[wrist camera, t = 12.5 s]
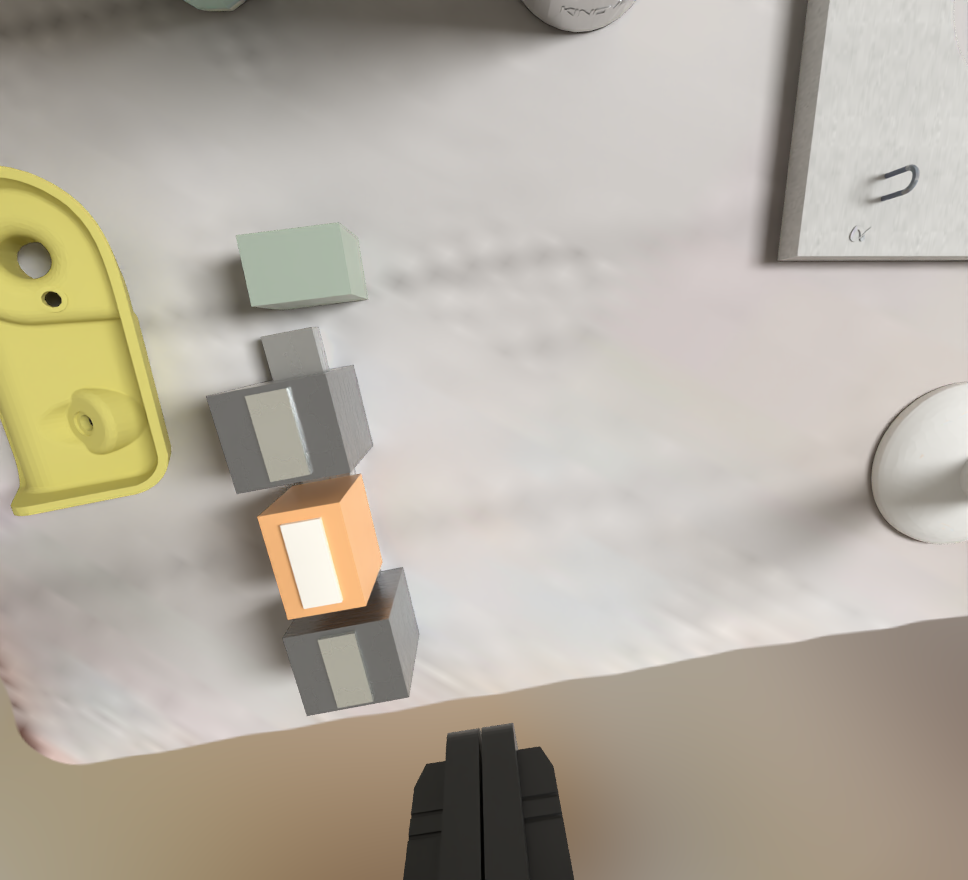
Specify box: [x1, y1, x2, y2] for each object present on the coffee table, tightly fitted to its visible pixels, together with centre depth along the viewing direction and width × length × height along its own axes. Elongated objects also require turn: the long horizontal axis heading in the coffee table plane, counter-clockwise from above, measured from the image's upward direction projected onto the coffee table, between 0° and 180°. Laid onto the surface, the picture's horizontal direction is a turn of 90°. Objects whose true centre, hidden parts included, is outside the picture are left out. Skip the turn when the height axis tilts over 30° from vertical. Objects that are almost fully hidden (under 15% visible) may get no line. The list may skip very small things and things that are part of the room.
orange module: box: [257, 474, 382, 620], centre depth 33 cm, size 7×5×6 cm
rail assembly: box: [206, 327, 419, 716], centre depth 33 cm, size 26×7×7 cm, turn 11°
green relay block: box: [236, 222, 368, 310], centre depth 31 cm, size 4×6×5 cm, turn 97°
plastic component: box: [0, 166, 171, 516], centre depth 32 cm, size 20×7×10 cm
